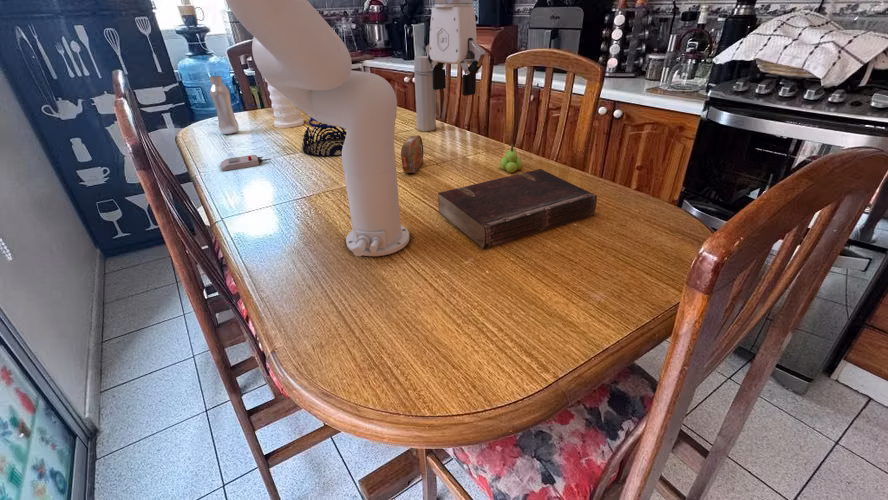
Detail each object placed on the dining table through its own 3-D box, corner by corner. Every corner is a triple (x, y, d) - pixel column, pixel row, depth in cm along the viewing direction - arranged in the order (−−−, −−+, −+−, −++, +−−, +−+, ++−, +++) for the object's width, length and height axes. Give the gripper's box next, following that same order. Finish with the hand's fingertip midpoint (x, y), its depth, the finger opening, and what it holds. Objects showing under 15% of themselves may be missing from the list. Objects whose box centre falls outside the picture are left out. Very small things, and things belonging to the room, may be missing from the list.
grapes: (522, 174, 114) (524, 148, 111) (499, 174, 115) (501, 148, 111) (520, 163, 122) (522, 138, 119) (499, 162, 123) (500, 138, 119)
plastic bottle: (221, 132, 159) (204, 76, 149) (240, 130, 162) (225, 74, 151) (221, 136, 154) (204, 78, 144) (240, 134, 156) (225, 77, 146)
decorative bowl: (370, 151, 135) (365, 105, 127) (306, 160, 129) (297, 112, 121) (357, 136, 151) (352, 94, 143) (301, 143, 145) (292, 100, 137)
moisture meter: (215, 166, 126) (212, 156, 125) (269, 157, 132) (267, 148, 130) (215, 172, 121) (212, 162, 119) (272, 163, 127) (270, 154, 125)
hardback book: (484, 249, 80) (485, 226, 78) (438, 213, 94) (438, 192, 92) (594, 215, 92) (598, 194, 89) (538, 187, 106) (540, 168, 104)
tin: (411, 177, 114) (409, 147, 110) (400, 176, 115) (398, 146, 110) (424, 159, 127) (423, 132, 122) (414, 159, 127) (413, 131, 123)
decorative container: (297, 119, 175) (288, 73, 166) (308, 124, 167) (299, 76, 158) (269, 124, 169) (258, 76, 160) (280, 129, 161) (269, 79, 152)
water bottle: (413, 131, 154) (409, 58, 142) (421, 126, 161) (417, 55, 148) (437, 133, 152) (435, 58, 139) (443, 127, 159) (442, 55, 146)
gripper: (411, -1, 84) (415, 89, 93) (469, -3, 73) (467, 99, 81) (440, -1, 88) (441, 85, 97) (499, -3, 77) (494, 95, 85)
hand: (453, 91), depth 89 cm, fingers open, 9 cm apart
